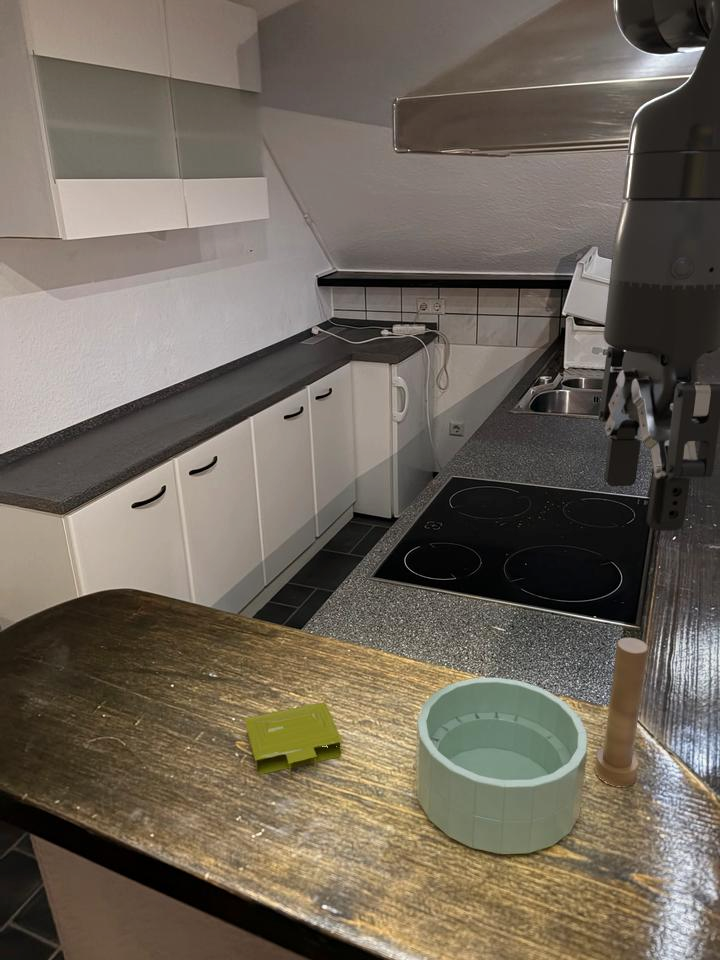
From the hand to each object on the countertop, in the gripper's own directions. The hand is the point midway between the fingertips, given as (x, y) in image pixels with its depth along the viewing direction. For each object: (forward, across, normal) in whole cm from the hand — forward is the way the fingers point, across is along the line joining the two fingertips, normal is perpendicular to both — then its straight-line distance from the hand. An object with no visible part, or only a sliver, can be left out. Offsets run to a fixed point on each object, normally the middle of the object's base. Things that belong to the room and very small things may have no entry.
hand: (639, 504), depth 55 cm
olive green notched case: (+23, +2, +26) cm, 35 cm away
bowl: (+23, -4, +10) cm, 25 cm away
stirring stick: (+23, -2, 0) cm, 23 cm away
